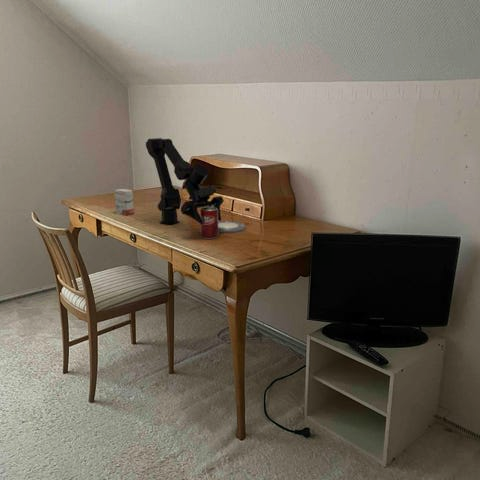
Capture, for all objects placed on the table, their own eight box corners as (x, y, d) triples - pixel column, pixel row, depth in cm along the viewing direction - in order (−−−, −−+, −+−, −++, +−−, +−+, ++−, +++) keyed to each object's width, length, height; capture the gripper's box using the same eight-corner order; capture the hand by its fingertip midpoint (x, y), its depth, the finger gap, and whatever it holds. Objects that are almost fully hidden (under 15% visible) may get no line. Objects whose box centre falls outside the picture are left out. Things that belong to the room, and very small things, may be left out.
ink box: (134, 214, 244) (133, 190, 241) (127, 215, 240) (125, 191, 237) (123, 211, 249) (121, 188, 246) (115, 213, 245) (113, 189, 242)
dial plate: (209, 223, 227) (209, 221, 227) (244, 223, 228) (244, 220, 227) (208, 232, 212) (208, 230, 211) (246, 232, 212) (246, 230, 212)
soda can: (209, 233, 210) (208, 205, 207) (222, 236, 206) (221, 208, 203) (197, 237, 205) (196, 208, 202) (210, 240, 201) (209, 211, 197)
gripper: (183, 181, 196) (200, 214, 191) (221, 177, 208) (238, 207, 203) (173, 198, 204) (189, 229, 199) (209, 192, 216) (225, 222, 211)
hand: (211, 221), depth 203 cm, fingers open, 9 cm apart
